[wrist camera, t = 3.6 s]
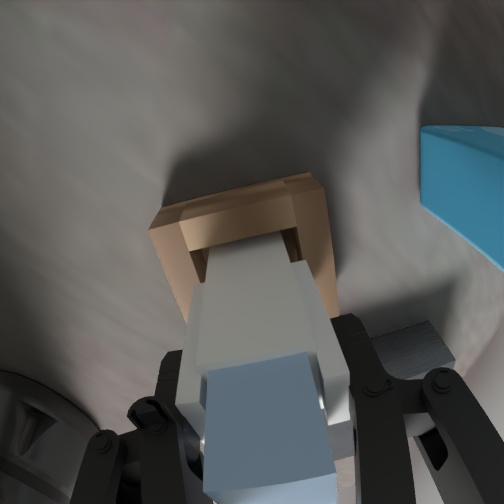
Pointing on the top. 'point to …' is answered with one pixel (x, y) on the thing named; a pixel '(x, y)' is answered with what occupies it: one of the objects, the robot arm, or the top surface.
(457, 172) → the data package
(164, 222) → the frame
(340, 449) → the port
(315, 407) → the plug
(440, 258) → the top surface
